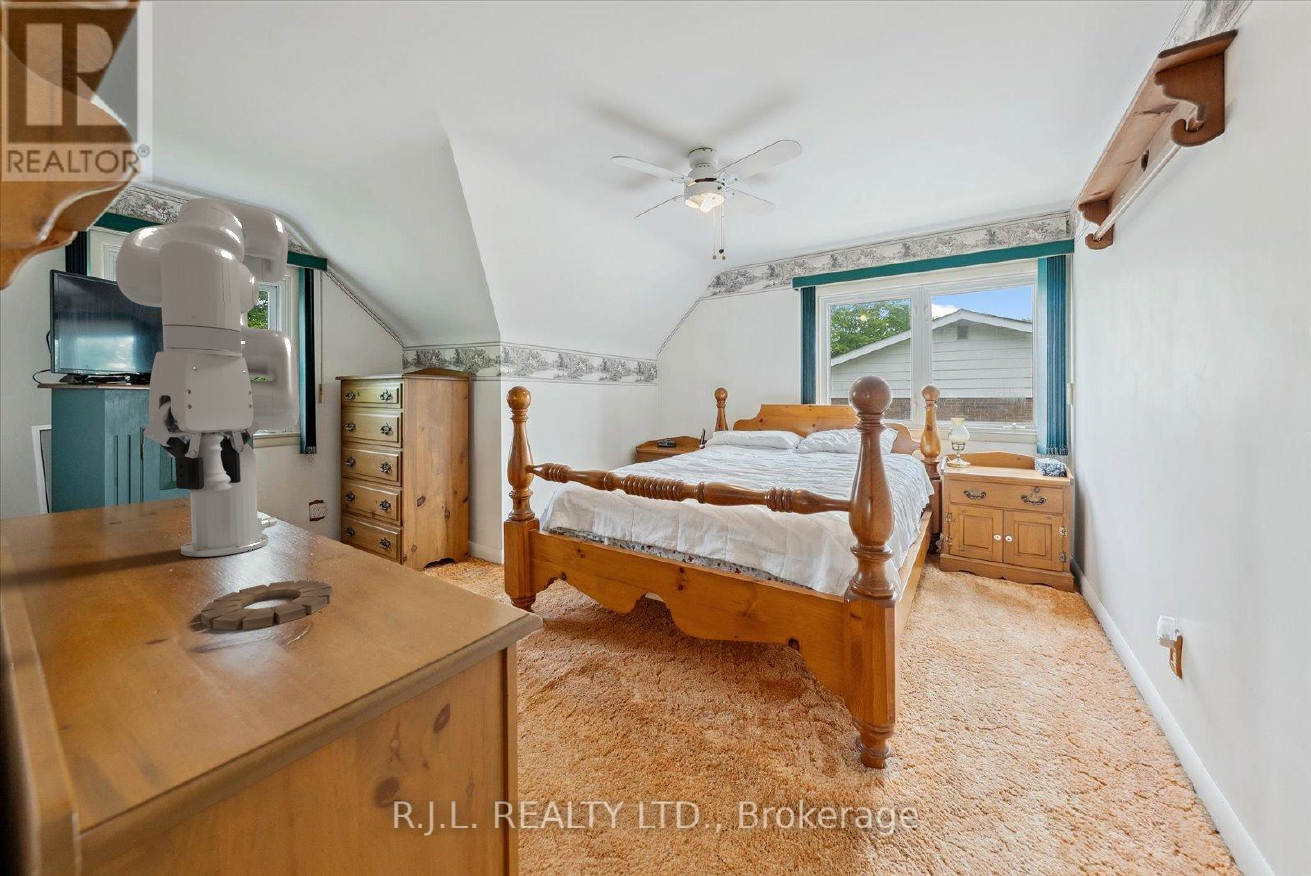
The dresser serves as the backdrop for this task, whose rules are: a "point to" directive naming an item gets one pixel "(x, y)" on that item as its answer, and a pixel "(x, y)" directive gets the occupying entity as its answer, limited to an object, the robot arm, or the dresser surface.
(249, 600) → the walnut ring
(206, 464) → the rook chess piece
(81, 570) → the dresser surface
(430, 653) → the dresser surface
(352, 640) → the dresser surface
